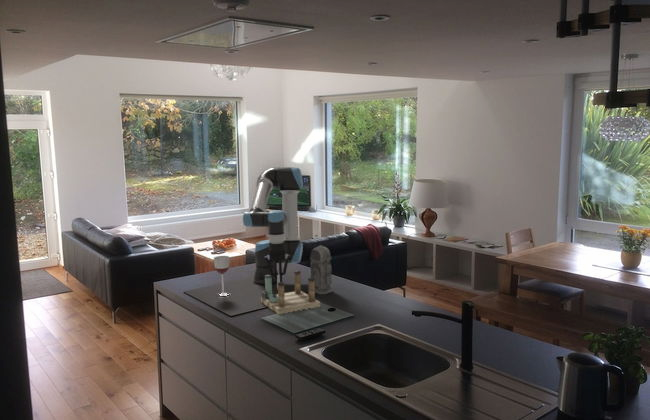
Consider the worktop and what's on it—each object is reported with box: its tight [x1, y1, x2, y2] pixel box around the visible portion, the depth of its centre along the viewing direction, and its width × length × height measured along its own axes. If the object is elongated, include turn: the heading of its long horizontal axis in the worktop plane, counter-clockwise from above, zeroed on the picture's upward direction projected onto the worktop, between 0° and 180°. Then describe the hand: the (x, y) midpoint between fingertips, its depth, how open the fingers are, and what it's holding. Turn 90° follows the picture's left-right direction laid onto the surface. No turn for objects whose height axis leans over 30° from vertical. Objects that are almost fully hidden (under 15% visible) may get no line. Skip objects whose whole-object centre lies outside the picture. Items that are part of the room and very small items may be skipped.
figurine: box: [309, 244, 333, 295], centre depth 289 cm, size 10×14×25 cm
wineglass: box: [213, 255, 230, 297], centre depth 285 cm, size 8×9×20 cm
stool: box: [260, 270, 321, 315], centre depth 268 cm, size 22×22×14 cm
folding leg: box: [264, 275, 278, 303], centre depth 268 cm, size 12×4×11 cm, turn 27°
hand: (278, 288), depth 273 cm, fingers closed
